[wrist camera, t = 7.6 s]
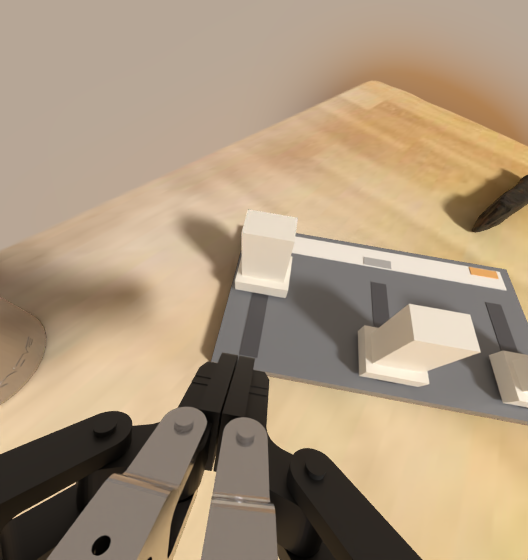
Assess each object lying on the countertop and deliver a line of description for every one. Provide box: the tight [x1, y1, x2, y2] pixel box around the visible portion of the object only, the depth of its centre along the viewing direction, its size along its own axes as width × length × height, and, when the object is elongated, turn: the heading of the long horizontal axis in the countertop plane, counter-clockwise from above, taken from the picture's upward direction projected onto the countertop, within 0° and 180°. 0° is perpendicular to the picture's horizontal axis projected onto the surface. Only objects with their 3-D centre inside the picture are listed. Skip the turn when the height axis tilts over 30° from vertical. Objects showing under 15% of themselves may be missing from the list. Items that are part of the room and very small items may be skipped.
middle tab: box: [358, 304, 481, 387], centre depth 19 cm, size 5×4×8 cm
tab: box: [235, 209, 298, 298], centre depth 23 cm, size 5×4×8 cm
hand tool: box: [472, 175, 528, 232], centre depth 36 cm, size 19×4×5 cm, turn 122°
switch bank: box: [211, 233, 528, 425], centre depth 26 cm, size 30×16×2 cm, turn 80°
